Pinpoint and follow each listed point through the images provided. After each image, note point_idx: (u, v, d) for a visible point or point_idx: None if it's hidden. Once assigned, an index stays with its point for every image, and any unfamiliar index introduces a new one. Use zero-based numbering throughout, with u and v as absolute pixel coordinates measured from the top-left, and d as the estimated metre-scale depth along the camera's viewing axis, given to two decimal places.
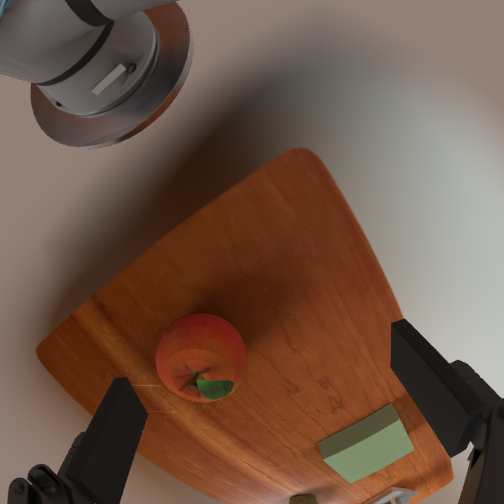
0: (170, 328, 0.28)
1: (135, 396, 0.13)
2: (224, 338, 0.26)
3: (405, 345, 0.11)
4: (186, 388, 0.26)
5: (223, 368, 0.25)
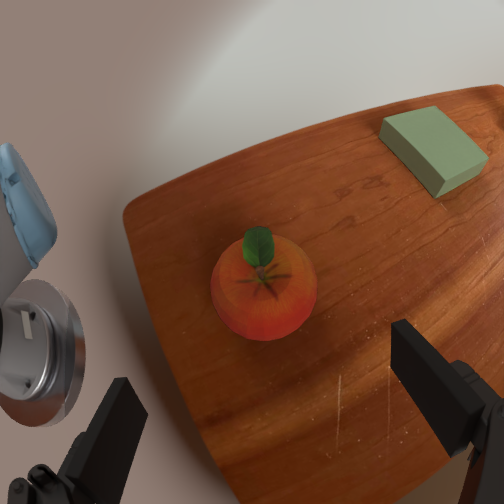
0: None
1: (135, 396, 0.13)
2: None
3: (405, 346, 0.11)
4: (276, 289, 0.22)
5: None
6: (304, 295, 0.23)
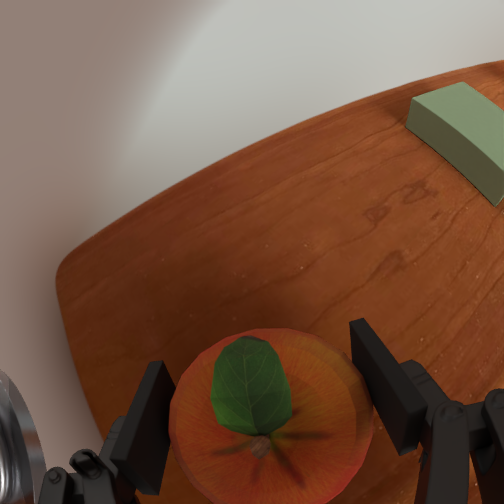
0: None
1: (170, 379, 0.14)
2: (190, 365, 0.12)
3: (359, 344, 0.12)
4: (299, 464, 0.08)
5: None
6: (356, 457, 0.08)
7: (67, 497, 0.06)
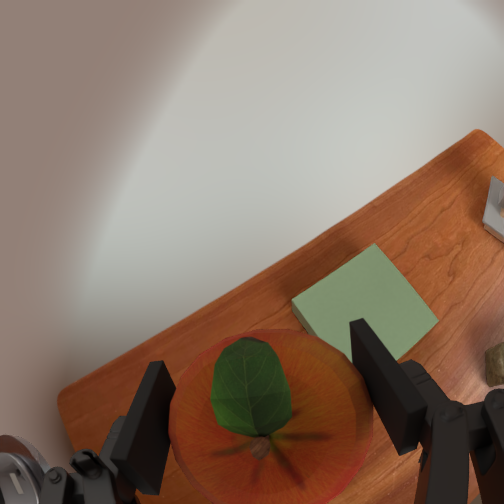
0: None
1: (170, 379, 0.14)
2: (190, 366, 0.12)
3: (359, 344, 0.12)
4: (298, 465, 0.08)
5: None
6: (356, 458, 0.08)
7: (68, 497, 0.06)
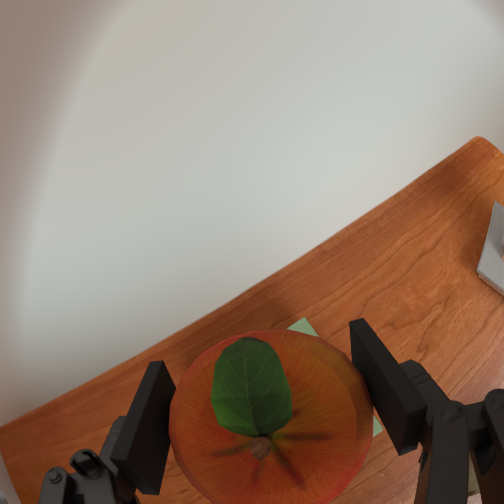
0: None
1: (170, 379, 0.14)
2: (190, 366, 0.12)
3: (359, 344, 0.12)
4: (299, 465, 0.08)
5: None
6: (356, 458, 0.08)
7: (68, 497, 0.06)
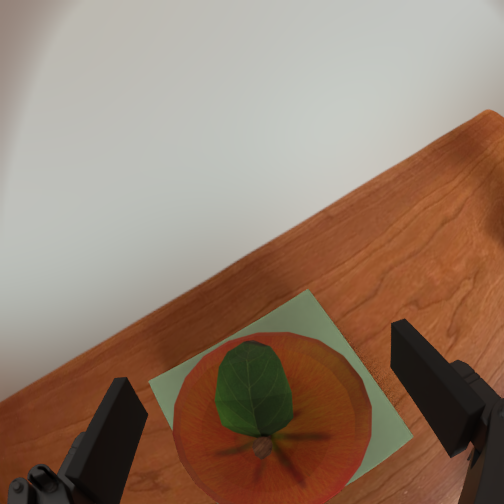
0: None
1: (135, 396, 0.13)
2: (193, 368, 0.12)
3: (405, 345, 0.11)
4: (299, 465, 0.08)
5: None
6: (355, 458, 0.09)
7: None
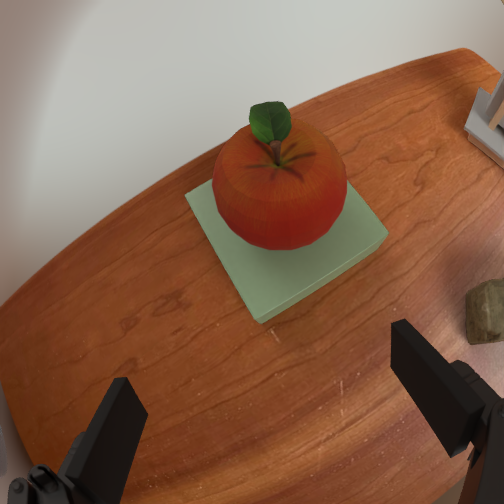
0: (224, 220, 0.20)
1: (135, 396, 0.13)
2: None
3: (405, 346, 0.11)
4: (298, 169, 0.16)
5: None
6: (335, 178, 0.17)
7: None
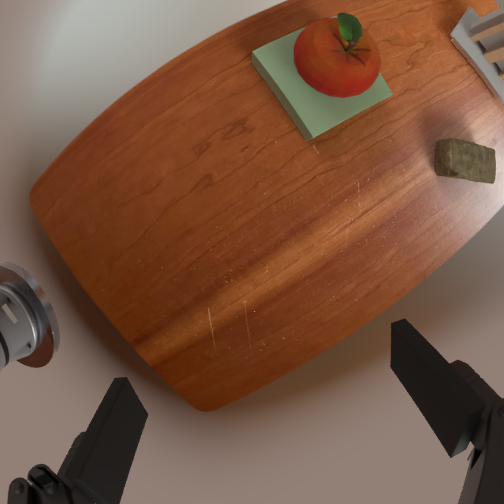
0: (305, 76, 0.26)
1: (135, 396, 0.13)
2: (307, 27, 0.23)
3: (405, 345, 0.11)
4: (361, 58, 0.22)
5: (333, 24, 0.21)
6: (378, 65, 0.23)
7: None
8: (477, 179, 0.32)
